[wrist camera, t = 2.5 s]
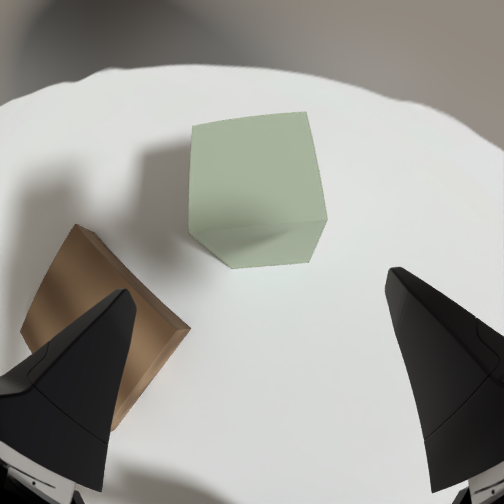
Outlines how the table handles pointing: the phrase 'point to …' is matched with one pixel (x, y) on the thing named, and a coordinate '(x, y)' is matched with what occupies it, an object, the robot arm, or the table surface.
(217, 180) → the sage block
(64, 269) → the walnut plinth
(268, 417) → the table surface
